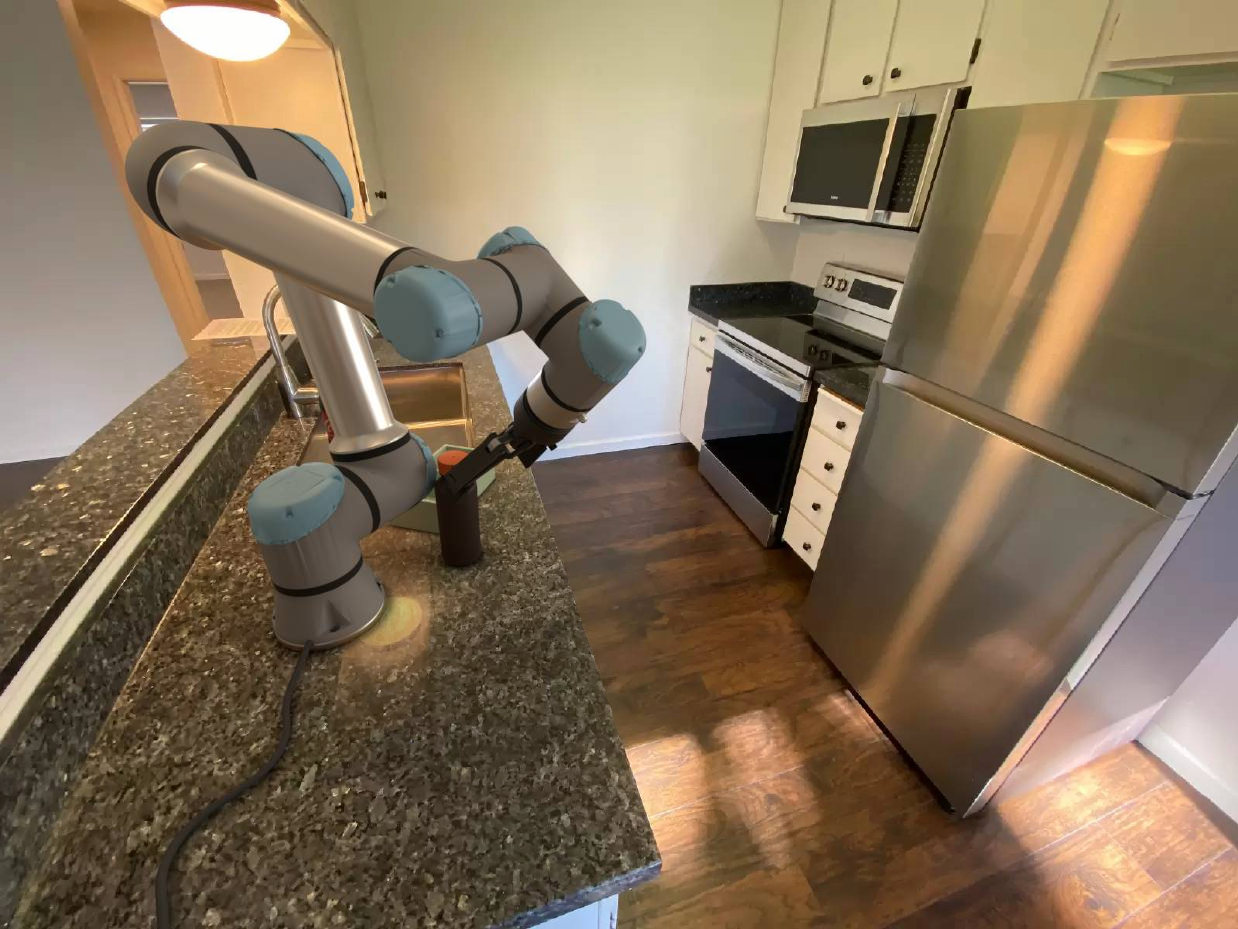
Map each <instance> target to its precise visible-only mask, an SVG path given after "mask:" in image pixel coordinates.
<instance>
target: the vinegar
mask: <svg viewBox="0 0 1238 929" xmlns="http://www.w3.org/2000/svg"><path fill="white" fill-rule="evenodd" d="M467 455H468V454H467V453H466V452H463V451H458V450H452V451H446V452H444V453H442V454H440V455H439V457H438V458H437V461H438V469H439V474H440V475H441V477H440V478H438V479H437V481H436V482H435V484H434V490H435V499H436V508H437V517H438V526H439V533H438V534H439V543H440V551H441V558H442V560H443V561H444V562H445V563H446V564H447V565H449V566H453V567H465V566H469V565H471V564H473V563H475V562H476V561H477V560H479V558H480V557H481V555H482V542H481V539H482V538H481V526H480V508H479V496H478V492H477V482H476V481H474V484H475V485H474V486H473V487H472V488H471V489H470V490H469V492H468V493H467V494H466V495H465V496H464V498H463V499H462V500H461V501H460V502H459V503H458V504H456V505H454V503H453V502H452V500H451V499H450V497H449V496H448V494H447V493H446V491H445V490H444V489H445V488H446V486H447V485H448V484H449V483H448V481H447V480H446V478H445V477H444V474H445V473H446V472H448V471H449V470H450V469H451V466H453V465H456V464H457V463H458V462H460V461H461V460H462V459H463V458H464V457H466V456H467Z"/></svg>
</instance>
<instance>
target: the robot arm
mask: <svg viewBox="0 0 1238 929" xmlns="http://www.w3.org/2000/svg"><path fill="white" fill-rule="evenodd" d="M124 174H125V175H124V176H125V181H126V183H127V186H128V190H129V192H130V194H131V196H132V198H133V200H134V201H135V203H136V204H137V206H138V207H139V208H140V210H141V211H142V212H143V214H145V215H146V216H147V217H148V218H149V219H150V221H152V222H153V223H154V224H155V225H157V226H158V227H159V228H161V229H162V230H163V231H165V232H167V233H169V234H170V235H172V236H173V237H176V238H177V239H179V240H181V241H183V242H186V243H188V244H189V245H192V246H194V247H197V248H199V249H203V250H208V251H224V250H225V251H228V252H231V253H233V254H235V255H237V256H239V257H241V258H244V259H245V260H247V261H249V262H252V263H253V264H256V265H258V266H260V267H263V268H265V269H267V270H269V271H271V272H272V274H273V277H274V280H275V283H276V285H277V288H278V290H279V293H280V295H281V299H282V300H283V303H284V306H285V308H286V311H287V313H288V316H289V318H290V321H291V324H292V327H293V329H294V332H295V335H296V338H297V340H298V342H299V345H300V348H301V350H302V353H303V355H304V358H305V360H306V363H307V366H308V368H309V371H310V374H311V377H312V379H313V381H314V384H315V387H316V389H317V392H318V396H319V395H320V397H321V400H322V403H323V405H324V408H325V410H326V413H327V416H328V418H329V421H330V424H331V426H332V429H333V431H334V438H333V440H332V441H331V443H330V444H328V446H327V450H328V452H329V454H330V457H331V460H332V463H333V464H331V463H328V462H323V461H321V462H320V461H312V462H304V463H302V464H301V465H299V466H297V465H291V466H288V467H286V468H284V469H281V470H279V471H277V472H275V473H273V474H271V475H269V476H268V477H266V478H265V479H263V481H261V482H260V483H259V484H257V486H256V487H255V488H254V490H252V492H251V494H250V495H249V499H248V502H247V505H246V509H247V514H248V520H249V523H250V531H251V534H252V536H253V537H254V539H255V541H256V543H257V546H258V549H259V551H260V553H261V556H262V559H263V561H264V564H265V566H266V569H267V572H268V575H269V577H270V580H271V583H272V585H273V588H274V590H273V591H274V593H273V609H272V613H271V625H272V630H273V632H274V636H275V638H276V640H277V641H278V643H280V645H282V646H283V647H285V648H286V649H289V650H292V651H297V652H301V653H300V655H299V658H298V660H297V662H296V665H295V667H294V669H293V672H292V674H291V676H290V679H289V681H288V684H287V686H286V689H285V692H284V696H283V700H282V706H281V707H282V708H281V716H282V730H281V736H280V740H279V743H278V745H277V747H276V749H275V750H274V752H273V754H272V756H271V757H270V758H269V759H268V760H267V762H266V763H265V764H264V765H263V766H262V767H261V768H260V769H259V770H258V771H256V772H255V773H254V774H253V775H252V776H250V777H249V778H248V779H246V780H245V781H243V782H242V783H241V784H239V785H238V786H236V787H234V788H233V789H231V790H230V791H228V792H227V793H226V794H224V795H222V796H220V797H219V798H217V799H216V800H215V801H213V802H211V803H210V804H209V805H207V806H206V807H205V808H203V809H202V810H201V811H200V812H198V813H197V814H196V815H195V816H194V817H192V818H191V819H190V820H189V821H188V822H187V823H186V825H184V827H182V829H181V830H180V831H179V832H178V833H177V835H176V836H175V838H174V839H173V840H172V841H171V843H170V844H169V846H168V847H167V849H166V851H165V853H164V855H163V857H162V859H161V861H160V863H159V866H158V868H157V872H156V877H155V881H154V882H155V884H154V897H155V898H154V901H155V913H156V914H155V915H156V929H170V914H169V913H170V912H169V901H168V900H169V898H168V875H169V870H170V866H171V864H172V862H173V860H174V857H175V855H176V853H177V851H178V850H179V848H180V847H181V845H182V843H183V842H184V841H185V839H186V838H187V836H188V835H189V834H190V833H191V832H192V831H193V830H194V828H196V827H197V826H198V825H199V824H200V823H201V822H202V821H203V820H205V819H206V818H207V817H208V816H210V815H211V814H212V813H213V812H215V811H216V810H218V809H219V808H221V807H222V806H224V805H225V804H227V803H228V802H230V801H231V800H232V799H234V798H236V797H237V796H239V795H240V794H242V793H244V792H245V791H246V790H247V789H249V788H251V786H254V785H255V783H257V782H258V781H260V780H261V779H262V778H263V777H264V776H265V775H266V774H268V773H269V771H271V769H272V768H273V767H274V766H275V765H276V764H277V763H278V761H279V760H280V758H281V757H282V755H283V753H284V752H285V750H286V747H287V745H288V743H289V739H290V735H291V702H292V696H293V693H294V691H295V687H296V685H297V682H298V680H299V677H300V674H301V673H302V670H303V667H304V665H305V663H306V660H307V657H308V655H309V653H312V652H314V653H315V652H322V651H327V650H331V649H334V648H337V647H341V646H343V645H345V644H347V643H350V642H352V641H354V640H355V639H357V638H360V636H362V635H364V634H365V633H366V632H367V631H369V630H370V629H371V628H373V627H374V626H375V625H376V624H377V622H378V621H379V620H380V618H382V616H383V614H384V612H385V610H386V607H387V595H386V590H385V588H384V586H383V583H382V582H381V580H380V578H378V577H377V575H376V574H375V573H374V571H373V570H372V568H371V567H370V566H369V565H368V563H367V562H366V561H365V560H364V556H363V552H362V549H361V544H360V543H361V541H362V540H364V539H366V538H367V537H369V536H370V535H372V534H373V533H375V532H377V531H378V530H380V529H382V528H383V527H385V526H386V525H387V524H389V522H390V521H392V520H394V519H395V518H397V517H398V516H400V515H401V514H403V513H405V512H406V511H408V510H411V509H413V508H414V507H416V506H417V505H418V504H419V503H420V501H422V500H423V499H425V498H426V497H427V496H428V495H429V494H430V493H431V491H432V490H433V488H434V484H435V482H436V479H437V467H436V462H435V459H434V456H433V451H432V450H431V449H430V448H431V447H429V446H428V445H426V446H425V441H424V440H423V439H422V438H421V437H420V436H418V435H417V434H414V433H412V432H410V430H409V428H408V426H407V425H406V424H404V423H402V422H400V421H399V420H396V419H395V416H394V414H393V411H392V408H391V406H390V401H389V399H388V396H387V393H386V390H385V387H384V383H383V380H382V378H381V375H380V374H381V373H380V371H379V368H378V365H377V363H376V359H375V357H374V354H373V350H372V348H371V344H370V341H369V338H368V335H367V332H366V329H365V326H364V323H363V320H362V317H361V314H363V315H366V316H368V317H370V318H372V319H374V320H375V322H376V325H377V328H378V330H379V332H380V334H381V336H382V338H383V339H384V341H385V342H387V343H389V344H391V345H392V347H393V348H394V351H395V353H396V354H398V355H399V356H401V357H402V358H404V359H406V360H408V361H410V362H414V363H420V364H428V363H432V362H436V361H441V360H449V359H453V358H457V357H459V356H461V355H463V354H467V352H470V351H472V350H475V349H477V348H480V347H483V346H485V345H487V344H490V343H492V342H495V341H497V340H500V339H503V338H505V337H508V336H511V335H513V334H517V333H519V332H524V333H525V335H527V336H528V337H529V339H530V340H531V341H532V342H533V343H534V344H535V346H536V347H537V349H539V350H540V351H542V353H543V354H544V355H545V356H546V357H547V358H548V360H547V361H546V362H545V363H544V364H543V365H542V367H541V368H540V370H539V371H537V373H536V375H535V376H534V377H533V378H532V379H531V381H530V382H529V384H528V385H527V387H526V388H525V389H524V390H523V392H522V393H521V395H520V396H519V397H518V398H517V400H515V403H514V404H513V415H512V416H513V421H512V422H510V423H509V424H508V425H507V428H505V429H504V430H503V431H501V432H500V433H498V432H496V431H493V432H490V433H489V434H488V435H487V436H486V437H485V438H484V439H483V441H482V442H480V444H479V445H477V446H476V447H474V448H475V449H474V450H473V451H472V452H470V453H469V454H468V455H467V456H466V457H464V458H463V459H462V460H461V461H460V462H458V463H457V464H456V465H453V466H451V469H450V470H449V471H448V472H446V473H445V474H444V477H445V478H446V480H447V481H448V483H449V484H448V485H447V486H446V488H445V489H444V490H445V491H446V493H447V494H448V496H449V497H450V499H451V500H452V502H453V503H454V505H456V504H458V503H459V502H460V501H461V500H462V499H463V498H464V496H465V495H466V494H467V493H468V492H469V490H470V489H471V488H472V487H473V486H474V485H475V484H474V481H476V480H477V479H479V478H480V477H481V476H483V475H484V474H486V473H487V472H488V471H490V470H491V469H492V468H494V469H495V468H496V467H497V466H498V465H500V464H501V463H503V462H504V461H505V460H513V459H514V458H516V457H517V458H518V460H519V461H520V463H521V464H522V466H523V467H524V469H525V470H527V469H530V468H531V467H532V465H534V463H536V462H537V461H538V460H539V458H540V457H541V456H542V455H543V454H544V453H545V452H546V451H548V449H549V451H551V452H552V451H555V450H556V449H558V447H559V446H558V445H557V444H558V443H560V442H561V441H563V440H565V438H566V437H567V436H568V435H569V434H570V433H571V432H572V430H574V429H575V428H576V425H578V424H579V423H581V424H585V423H587V421H588V417H587V415H588V413H589V412H590V411H592V410H593V409H594V408H595V407H596V406H597V405H598V404H599V403H600V402H601V401H602V400H603V399H604V398H605V397H606V396H607V395H609V394H610V392H611V391H612V390H614V389H615V388H616V387H617V386H618V385H619V383H621V382H622V381H623V380H624V379H625V378H626V377H628V375H629V372H630V371H631V370H632V369H633V368H634V366H635V365H637V363H638V362H639V361H640V360H641V358H642V357H643V355H644V354H645V351H646V348H647V336H646V332H645V329H644V326H643V325H642V323H641V321H640V320H639V318H638V317H637V316H636V315H635V314H634V312H633V311H632V310H630V309H626V308H625V307H623V305H622V304H621V302H618V301H616V300H613V299H609V298H604V299H598V300H595V301H594V302H593V301H591V300H590V299H589V298H588V297H587V296H586V295H585V293H584V292H583V291H582V290H581V289H580V288H579V286H578V285H577V284H576V283H575V281H574V280H573V279H572V278H571V277H570V275H569V274H568V273H567V272H566V270H564V268H563V267H562V266H561V264H560V263H558V261H557V260H556V259H555V257H554V256H553V255H552V253H551V252H550V250H549V249H548V248H547V247H546V246H545V245H544V244H542V243H540V241H538V240H537V239H536V238H535V236H534V235H533V234H532V233H531V232H530V231H529V230H528V229H526V228H524V227H523V226H517V225H513V226H507V227H506V228H504V229H503V230H502V231H500V232H499V231H498V232H496V233H495V234H493V235H492V236H490V238H488V239H487V240H486V241H485V243H483V245H482V246H481V248H480V249H479V251H478V252H477V254H476V256H475V258H471V259H463V260H450V259H446V258H444V257H441V256H439V255H436V254H434V253H431V252H428V251H426V250H424V249H421V248H418V247H417V246H415V245H412V244H410V243H408V242H405V241H403V240H400V239H398V238H396V237H393V236H392V235H389V234H387V233H384V232H381V231H379V230H377V229H374V228H371V227H370V226H368V225H364V224H362V223H360V222H358V221H356V220H353V217H354V212H353V210H352V209H354V208H355V195H354V192H353V191H354V190H353V188H352V185H351V184H352V183H351V182H350V179H349V176H348V174H347V173H346V171H345V168H344V167H343V165H342V163H341V162H340V161H339V159H338V158H337V157H336V156H335V154H334V153H333V152H332V151H331V150H330V149H329V148H328V147H327V146H325V145H324V144H322V142H320V141H319V140H318V139H316V138H314V137H312V136H310V135H308V134H306V133H305V134H304V133H299V132H293V131H290V130H286V129H283V128H279V127H273V128H268V127H257V126H245V125H234V124H223V123H222V124H221V123H213V122H203V121H198V120H188V119H179V120H169V121H164V122H160V123H157V124H154V125H152V126H149V127H148V128H146V129H145V130H143V131H141V132H140V133H139V134H138V135H137V136H136V137H135V138H134V139H133V140H132V141H131V144H130V146H129V147H128V150H127V153H126V154H125V161H124ZM497 433H498V434H497ZM507 445H509V446H510V447H511V448H512V449H513V451H510V449H509V447H508V446H507Z"/></svg>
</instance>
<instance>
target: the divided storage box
mask: <svg viewBox="0 0 1238 929" xmlns="http://www.w3.org/2000/svg"><path fill="white" fill-rule="evenodd" d="M475 448H476V447H467V446H460V445H453V444H446V443H444V444H443V445H442V446H441V447H439V448H438V449H437V450H436V451H435V452H434V453H433V452H432V454H433V456H434V459H435V462H436V467H437V479H438V478H440V477H441V475H440V474H439V469H438V461H437V458H438V457H439V455H440V454H442V453H444V452H446V451H452V450H458V451H463V452H466V453H467V454H469V453H470V452H472V451H473V450H474V449H475ZM495 471H496V470H495V467H494V468H492V469H491V470H490V471H488V472H487V473H486V474H484V475H483V476H481V477H480V478H479V479H477V480H476V482H477V492H478V497H479V496H481V495H482V493H483V492H484V491H485V490H487V488H488V486H489V485H490V484H492V482H493V481H494V480H495V479H496V472H495ZM437 479H436V481H437ZM388 524H389V526H394V527H398V528H399V527H400V528H404V529H411V530H416V531H422V532H427V533H432V534H433V533H434V534H439V526H438V517H437V508H436V499H435V490H434V488H433V490H432V491H431V493H430V494H429V495H428V496H427V497H426V498H425V499H423V500H422V501H420V503H419V504H418V505H417V506H416V507H414V508H413V509H411V510H408V511H406V512H405V513H403V514H401V515H400V516H398V517H397V518H395V519H394V520H392V521H390V522H389V523H388Z"/></svg>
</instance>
